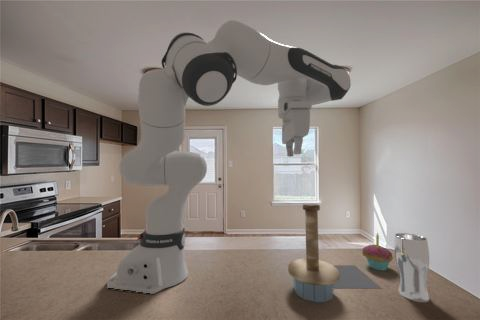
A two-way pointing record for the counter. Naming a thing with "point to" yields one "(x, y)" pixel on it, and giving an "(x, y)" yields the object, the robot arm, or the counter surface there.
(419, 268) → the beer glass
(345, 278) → the mat
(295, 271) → the brown piece
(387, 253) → the cupcake
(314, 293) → the bowl
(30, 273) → the counter surface
